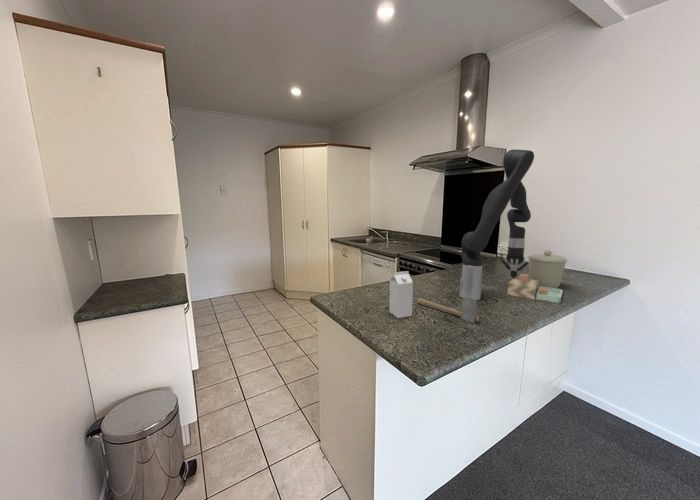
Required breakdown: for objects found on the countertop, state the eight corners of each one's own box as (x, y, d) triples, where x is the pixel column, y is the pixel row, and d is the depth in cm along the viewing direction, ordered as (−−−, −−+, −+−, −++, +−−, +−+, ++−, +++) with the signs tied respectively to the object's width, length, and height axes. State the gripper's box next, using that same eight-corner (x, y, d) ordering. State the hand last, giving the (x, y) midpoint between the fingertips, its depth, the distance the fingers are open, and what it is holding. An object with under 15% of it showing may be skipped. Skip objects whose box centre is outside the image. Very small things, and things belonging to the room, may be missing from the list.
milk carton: (389, 312, 119) (389, 270, 116) (403, 310, 122) (404, 269, 119) (397, 318, 113) (398, 274, 110) (412, 316, 115) (413, 272, 112)
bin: (535, 299, 133) (536, 293, 133) (539, 291, 145) (540, 286, 145) (560, 303, 127) (560, 297, 127) (561, 295, 139) (562, 289, 139)
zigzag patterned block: (507, 294, 141) (507, 283, 140) (512, 287, 153) (513, 277, 152) (534, 299, 133) (535, 287, 132) (538, 291, 145) (539, 280, 144)
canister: (531, 280, 166) (534, 246, 163) (568, 287, 152) (572, 250, 149) (520, 286, 155) (523, 250, 151) (559, 293, 141) (563, 254, 138)
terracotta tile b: (518, 280, 145) (519, 275, 144) (520, 278, 149) (520, 273, 148) (527, 281, 142) (528, 276, 142) (529, 279, 146) (529, 274, 146)
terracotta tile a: (540, 289, 134) (547, 290, 132) (541, 287, 138) (548, 288, 136) (539, 297, 135) (546, 298, 133) (540, 294, 139) (547, 295, 137)
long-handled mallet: (418, 303, 132) (479, 322, 108) (415, 304, 130) (477, 324, 107) (419, 284, 130) (481, 300, 107) (416, 285, 129) (478, 301, 105)
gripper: (500, 246, 147) (498, 277, 150) (529, 248, 139) (526, 280, 142) (503, 244, 153) (501, 274, 156) (531, 246, 145) (528, 277, 147)
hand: (513, 277), depth 149 cm, fingers closed
